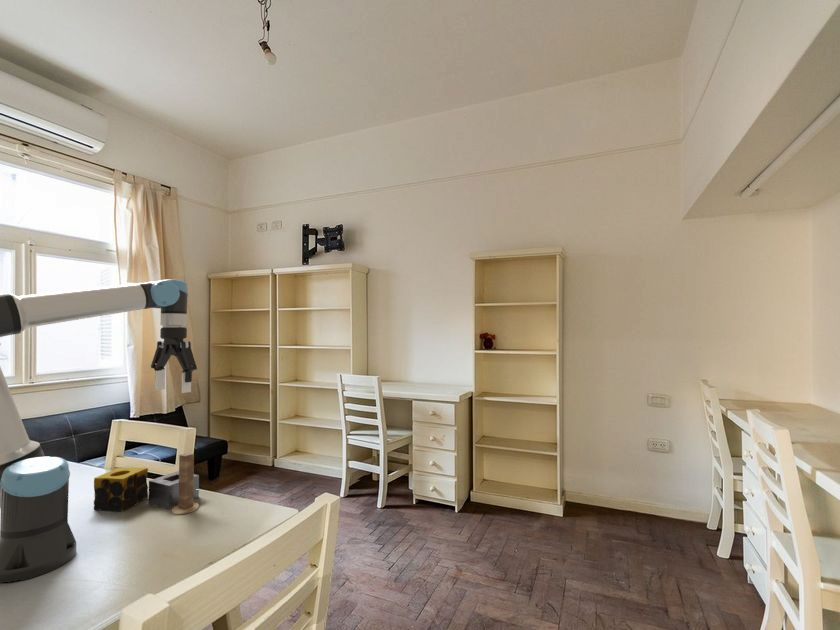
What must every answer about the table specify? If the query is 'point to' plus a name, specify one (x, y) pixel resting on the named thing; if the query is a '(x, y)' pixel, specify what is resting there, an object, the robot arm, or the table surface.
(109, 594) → the table surface
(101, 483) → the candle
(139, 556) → the table surface
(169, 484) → the box
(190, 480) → the dowel
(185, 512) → the coaster
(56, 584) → the table surface
